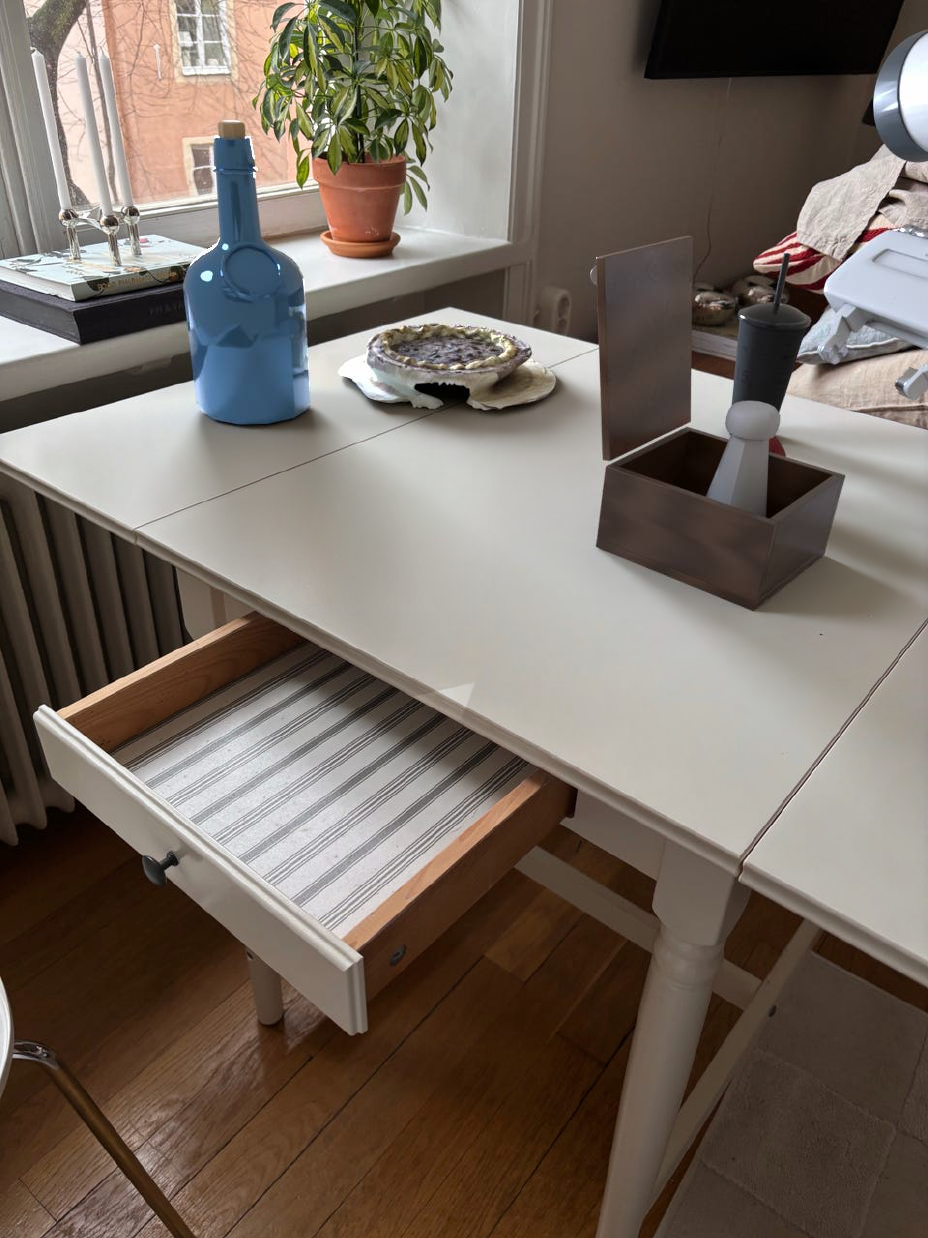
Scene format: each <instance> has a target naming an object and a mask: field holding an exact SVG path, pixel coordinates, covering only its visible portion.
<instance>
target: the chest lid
mask: <svg viewBox="0 0 928 1238" xmlns="http://www.w3.org/2000/svg"><path fill="white" fill-rule="evenodd" d="M590 280H591V282H592V284H593V285H595V286H596V294H597V296H596V299H597V325H598V326H597V328H598V329H597V332H598V357H599V359H598V362H599V389H600V390H599V392H600V393H599V394H600V395H599V396H600V416H601V417H600V423H601V451H602V453H601V455H602V456H601V457H602V461H606V462H611V461H613V460H615V459H617V458H619V457H622V456H624V455H626V454H629V453H630V452H632V451H634V450H636V449H639V448H640V447H642V446H644V445H646V444H648V443H650V442H653V441H654V440H657V439H659V438H661V437H663V436H664V435H665V436H666V434H669V433H671V432H673V431H675V430H677V429H679V428H681V427H684V426H686V425H687V424H689V423H691V422H692V351H693V349H692V347H693V346H692V342H693V341H692V340H693V333H692V332H693V235H684V236H679V237H675V238H671V239H667V240H661V241H658V242H655V243H650V244H645V245H642V246H641V245H640V246H637V247H632V248H629V249H624V250H620V251H617V252H612V253H607V254H603V255H599V256H596V257H595V266H594V267H593V268H592V269H591V271H590Z"/></svg>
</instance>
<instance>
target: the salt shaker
mask: <svg viewBox="0 0 928 1238" xmlns="http://www.w3.org/2000/svg"><path fill="white" fill-rule="evenodd" d="M731 405H732V404H731ZM724 425H725V429H726V431H727V433H731V435H730V436H729V438H728V439H729V441H728V443H727V446H726V448H725V451H724V454H723V456H722V459H721V461H720V464H719V466H718V469H717V471H716V474H715V476H714V478H713V481H712V483H711V485H710V488H709V490H708V493H707V495H706V497H708V498H711V499H713V500H716V501H719V502H722V503H725V504H728V505H731V506H734V507H736V508H739V509H742V510H745V511H748V512H751V513H754V514H757V515H760V516H762V517H765V518H766V501H767V477H768V453H769V439H770V438H773V437H774V436H777V433H778V431H779V429H780V425H781V414H780V412H778V411H777V409H776V408H775V407H773V406H771V405H769V404H766V403H763V402H758V401H741V402H737V403H735V404H733V405H732V406H730V407H729V408H728V411H727V413H726V416H725V421H724Z"/></svg>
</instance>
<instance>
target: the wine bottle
mask: <svg viewBox="0 0 928 1238" xmlns="http://www.w3.org/2000/svg"><path fill="white" fill-rule="evenodd" d="M217 131H218V135H215V136H214V138H213V169H212V172H214V173H215V177H216V195H217V196H216V197H217V208H218V209H217V211H218V212H217V213H218V227H219V228H218V229H219V238H218V240H217V242H216V243H215V244H214V245H212V247H210V248H208V249H206V250H204V251H202V252H201V253H199V254H198V255H197V256H195V257H194V258H193V259H192V261H191V262H190V265H189V266H188V269H187V271H186V273H185V275H184V280H183V282H182V283H183V284H182V288H183V301H184V307H185V316H186V324H187V325H186V327H187V332H188V333H187V334H188V341H189V349H190V357H191V358H190V359H191V366H192V376H193V383H194V391H195V400H196V405H197V406H198V409H199V411H201V413H204V414H205V415H206V416H207V417H210V418H211V419H212V420H215V421H219V422H226V423H230V424H235V425H268V424H273V423H277V422H282V421H286V420H290V419H295V418H296V417H297V416H299V415H300V414H302V413H304V412H305V411H307V410H308V408H309V407H310V403H311V386H310V385H311V384H310V368H309V366H310V365H309V364H310V363H309V346H308V330H307V310H306V309H307V308H306V293H305V292H306V291H305V290H306V289H305V278H304V275H303V273H302V271H301V269H300V267H299V265H298V264H297V262H295V261H294V259H293V258H292V257H290V256H289V255H287V254H286V253H285V252H283V251H280V250H278V249H276V248H274V247H272V246H271V245H269V244H267V242H266V240H265V239H264V237H263V235H262V228H261V220H260V211H259V202H258V191H257V182H256V175H255V174H256V173H257V171H258V168H257V167H256V161H255V155H254V150H253V144H252V143H253V142H252V139H251V136H249V135H246V134H247V133H246V125H245V122H244V121H241V120H232V119H228V120H227V119H226V120H225V119H224V120H220V121H218V123H217Z"/></svg>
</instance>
